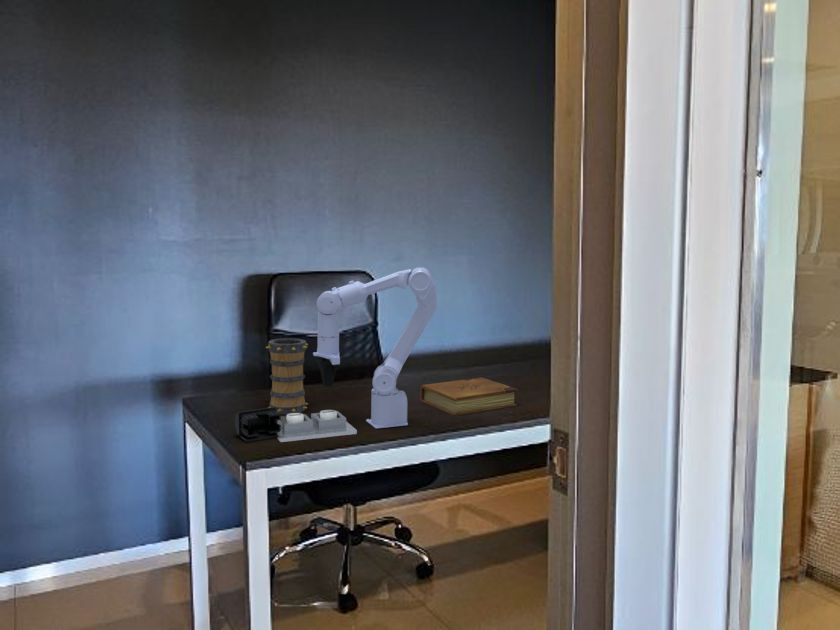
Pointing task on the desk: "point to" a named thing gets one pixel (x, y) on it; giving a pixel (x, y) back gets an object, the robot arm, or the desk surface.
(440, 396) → the diary
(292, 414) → the knob
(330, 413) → the knob
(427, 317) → the robot arm
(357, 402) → the desk surface
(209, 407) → the desk surface
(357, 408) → the desk surface
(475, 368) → the desk surface
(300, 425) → the mount
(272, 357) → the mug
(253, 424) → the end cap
